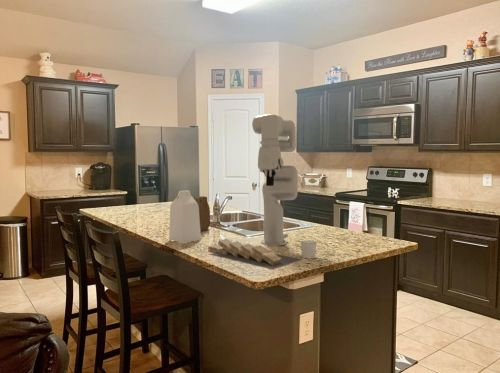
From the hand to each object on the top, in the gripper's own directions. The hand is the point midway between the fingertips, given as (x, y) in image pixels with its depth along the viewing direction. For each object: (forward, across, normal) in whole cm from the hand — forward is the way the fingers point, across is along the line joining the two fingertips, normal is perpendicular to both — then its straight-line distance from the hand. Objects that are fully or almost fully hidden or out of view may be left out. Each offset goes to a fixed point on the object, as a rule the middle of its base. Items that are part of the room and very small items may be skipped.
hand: (269, 185), depth 180 cm
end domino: (+30, -14, -11) cm, 34 cm away
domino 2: (+30, 0, -11) cm, 31 cm away
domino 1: (+30, -7, -11) cm, 32 cm away
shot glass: (+31, +15, +8) cm, 36 cm away
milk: (+31, -54, -4) cm, 63 cm away
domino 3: (+30, +6, -11) cm, 32 cm away
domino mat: (+31, -2, -8) cm, 32 cm away
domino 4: (+30, +13, -11) cm, 34 cm away
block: (+31, -70, +21) cm, 80 cm away
